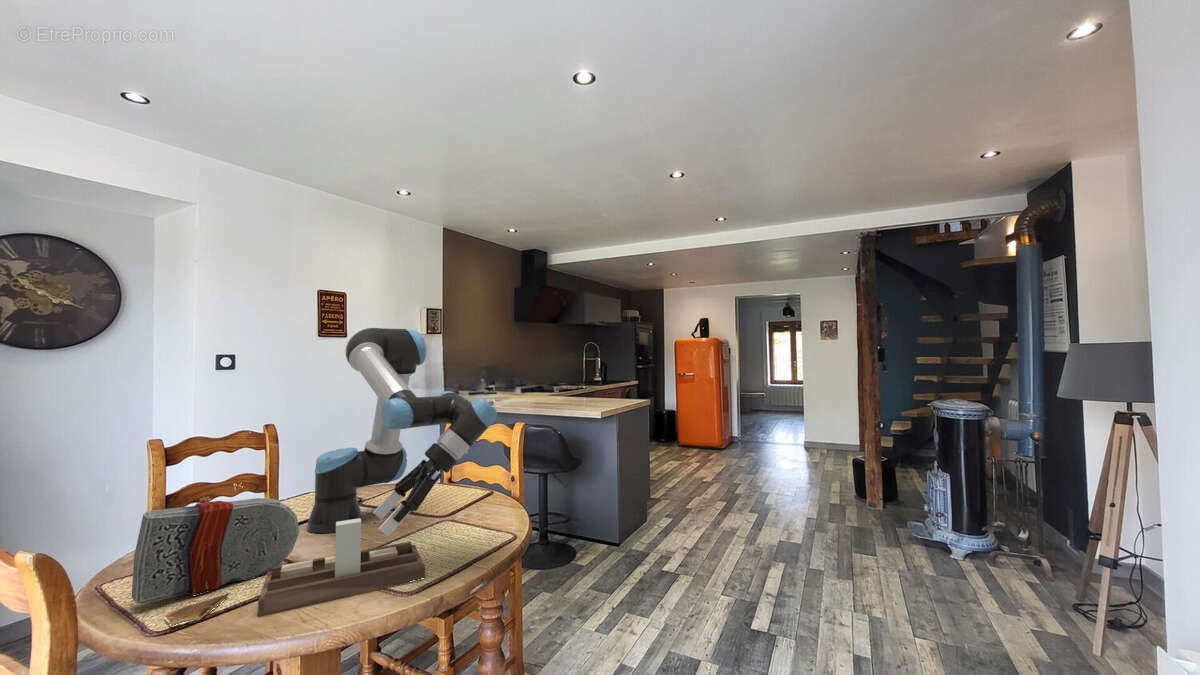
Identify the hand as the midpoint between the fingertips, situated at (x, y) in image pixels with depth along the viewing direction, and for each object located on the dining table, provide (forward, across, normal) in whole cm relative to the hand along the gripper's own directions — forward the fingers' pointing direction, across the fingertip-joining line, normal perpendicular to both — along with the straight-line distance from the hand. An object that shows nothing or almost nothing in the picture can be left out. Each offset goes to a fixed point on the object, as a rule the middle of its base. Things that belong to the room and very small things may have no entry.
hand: (380, 523), depth 109 cm
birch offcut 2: (+15, +8, -4) cm, 18 cm away
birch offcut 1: (+21, +8, +2) cm, 23 cm away
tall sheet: (+14, +1, -5) cm, 15 cm away
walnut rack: (+14, +6, -5) cm, 16 cm away
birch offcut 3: (+9, +8, -11) cm, 16 cm away
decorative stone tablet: (+32, +20, +12) cm, 39 cm away
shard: (+34, +7, +14) cm, 38 cm away
